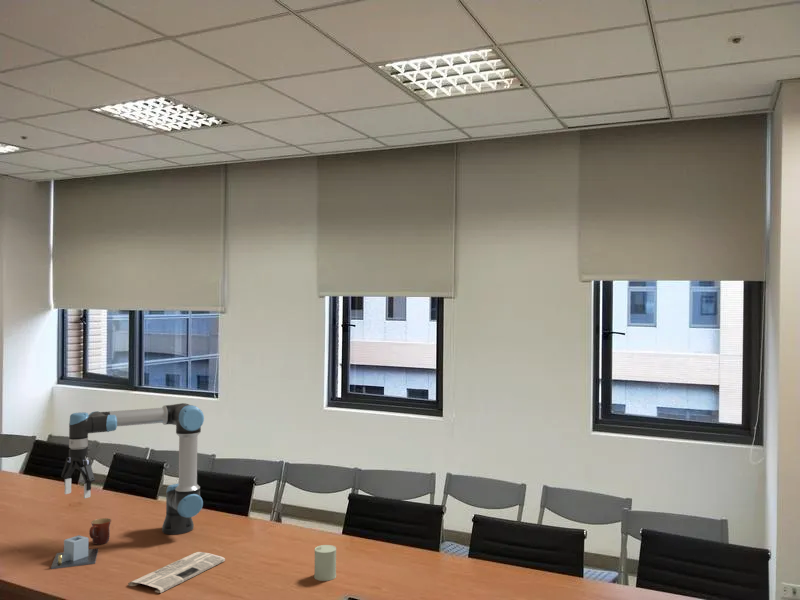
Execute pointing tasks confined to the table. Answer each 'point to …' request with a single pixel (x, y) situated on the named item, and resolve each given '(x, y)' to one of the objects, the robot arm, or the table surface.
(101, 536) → the mug
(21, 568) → the table surface
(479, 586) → the table surface
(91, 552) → the post plate
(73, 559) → the hollow square cube
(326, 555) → the can
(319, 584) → the table surface
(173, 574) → the newspaper
